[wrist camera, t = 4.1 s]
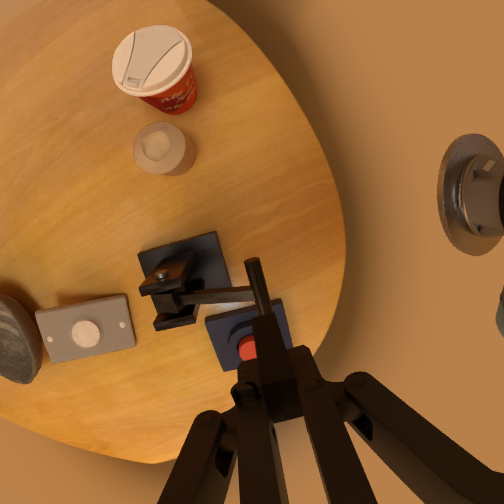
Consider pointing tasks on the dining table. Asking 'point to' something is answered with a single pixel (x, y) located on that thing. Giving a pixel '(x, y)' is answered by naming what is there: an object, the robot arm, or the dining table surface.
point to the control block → (240, 332)
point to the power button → (247, 348)
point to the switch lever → (219, 293)
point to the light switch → (86, 328)
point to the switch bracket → (183, 273)
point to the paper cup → (156, 68)
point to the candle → (163, 149)
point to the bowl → (18, 342)
